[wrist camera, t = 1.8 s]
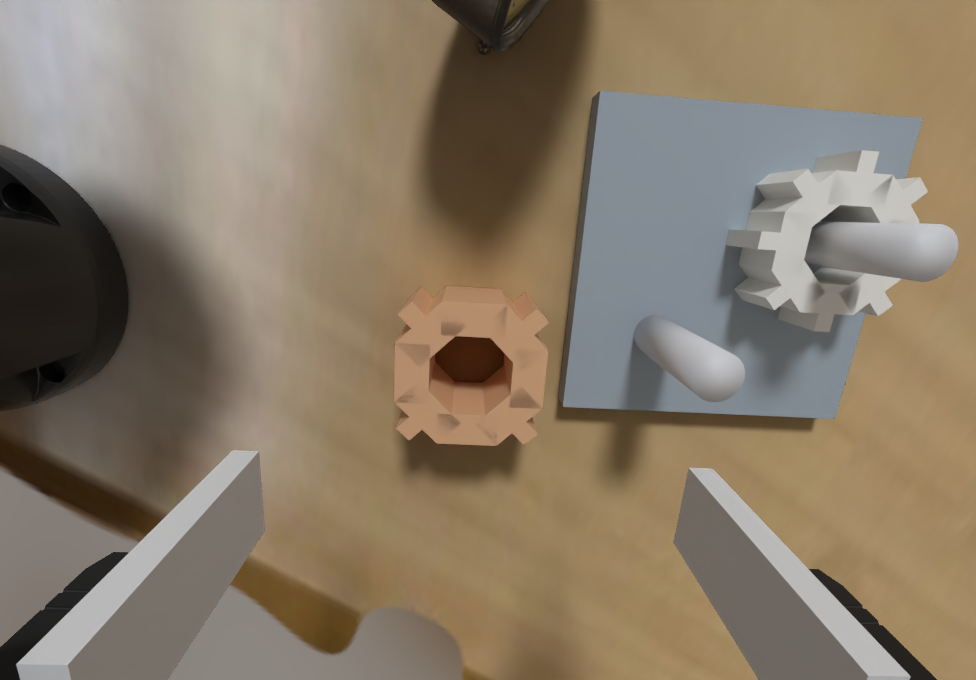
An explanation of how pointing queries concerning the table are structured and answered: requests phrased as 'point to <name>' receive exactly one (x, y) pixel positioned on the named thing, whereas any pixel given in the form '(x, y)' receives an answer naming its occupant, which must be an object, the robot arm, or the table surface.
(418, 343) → the loose gear
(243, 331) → the table surface
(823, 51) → the table surface
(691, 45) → the table surface
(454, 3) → the alarm clock
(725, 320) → the gear board
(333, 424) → the table surface
